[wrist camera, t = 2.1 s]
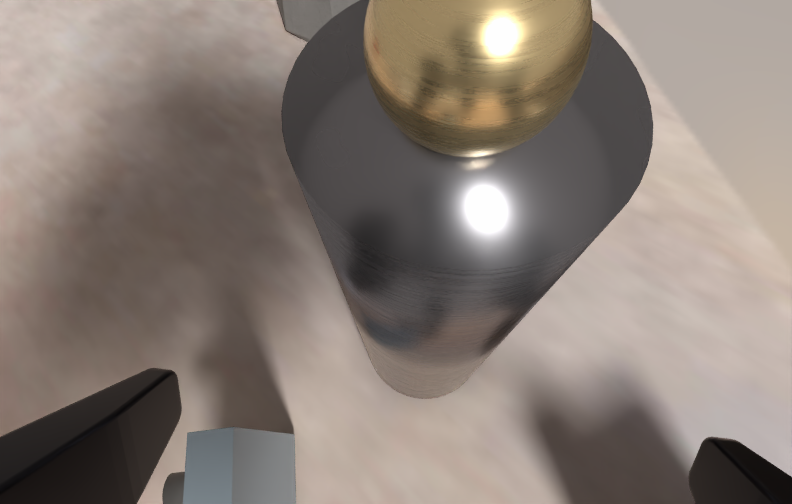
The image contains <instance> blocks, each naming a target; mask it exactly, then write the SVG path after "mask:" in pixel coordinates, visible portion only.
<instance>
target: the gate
mask: <svg viewBox="0 0 792 504" xmlns="http://www.w3.org/2000/svg"><path fill="white" fill-rule="evenodd" d="M163 504H296V481H295V439H294V434H287V433H279V432H271V431H263V430H255V429H246V428H238V427H229V428H221V429H213V430H205V431H197V432H189V433H187V448H186V463H185V472H178V473H171V474H170V475H169V476H168V477H167V479H166V481H165V484H164V488H163Z"/></svg>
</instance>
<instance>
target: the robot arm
mask: <svg viewBox="0 0 792 504" xmlns="http://www.w3.org/2000/svg"><path fill="white" fill-rule="evenodd" d="M181 409H182V408H181V399H180V392H179V385H178V378H177V375H176V373H175V372H174V371H172V370H166V369H158V368H150V369H147V370H145V371H143V372H141V373H139V374H136V375H134V376H132V377H130V378H128V379H126V380H123V381H121V382H119V383H117V384H115V385H112V386H110V387H108V388H106V389H104V390H102V391H99V392H97V393H95V394H93V395H91V396H88V397H86V398H84V399H82V400H80V401H78V402H75V403H73V404H71V405H69V406H67V407H64V408H62V409H60V410H58V411H56V412H54V413H51V414H49V415H47V416H45V417H43V418H40V419H38V420H36V421H34V422H32V423H30V424H27V425H25V426H23V427H21V428H19V429H16V430H14V431H12V432H10V433H8V434H6V435H3V436H1V437H0V504H137V502H138V500H139V499H140V497H141V495H142V493H143V491H144V489H145V487H146V485H147V483H148V481H149V479H150V477H151V475H152V473H153V471H154V469H155V467H156V465H157V463H158V461H159V459H160V457H161V455H162V453H163V452H164V450H165V448H166V446H167V444H168V442H169V440H170V438H171V436H172V434H173V432H174V430H175V428H176V426H177V424H178V422H179V419H180V416H181ZM689 486H690V490H691V493H692V496H693V499H694V502H695V504H792V477H791V476H789V475H788V474H786V473H785V472H783V471H782V470H780V469H779V468H777V467H776V466H774V465H773V464H771V463H770V462H768V461H767V460H765V459H764V458H762V457H761V456H759V455H758V454H756V453H755V452H753V451H752V450H750V449H749V448H747V447H746V446H744V445H743V444H741V443H740V442H738V441H736V440H733V439H726V438H718V437H708V438H706V439H705V440H704V441H703V442H702V444H701V446H700V449H699V451H698V453H697V456H696V458H695V460H694V463H693V465H692V467H691V470H690V473H689Z"/></svg>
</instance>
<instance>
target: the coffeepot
mask: <svg viewBox="0 0 792 504" xmlns="http://www.w3.org/2000/svg"><path fill="white" fill-rule="evenodd" d="M358 1H360V0H277V2H278V5H279V9H280V12H281V15H282V19H283V22H284V25H285V29H286V31H288V32H290V33H292V34H294V35H295V36H297V37H299V38H301V39H303V40H305V41H307V42H309V41H310V40H311V38H312V37H313V36H314V35H315V34H316V33H317V32H318V30H319V29H321V28H322V27H323V26H324V25H325V24H326V23H327V22H328V21H329V20H331V19H332V18H333V17H334V16H336V15H337V14H339V13H340V12H341V11H343V10H344V9H346V8H347V7H349V6H350V5H352V4H354V3H356V2H358Z"/></svg>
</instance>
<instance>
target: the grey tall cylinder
mask: <svg viewBox="0 0 792 504" xmlns="http://www.w3.org/2000/svg"><path fill="white" fill-rule="evenodd" d="M282 132H283V137H284V141H285V146H286V151H287V153H288V156H289V159H290V161H291V164H292V166H293V169H294V171H295V174H296V176H297V179H298V181H299V184H300V186H301V189H302V191H303V193H304V196H305V198H306V201H307V203H308V206H309V208H310V211H311V213H312V216H313V218H314V221H315V223H316V226H317V228H318V231H319V233H320V236H321V238H322V240H323V243H324V245H325V248H326V250H327V253H328V255H329V258H330V260H331V263H332V265H333V268H334V270H335V273H336V275H337V278H338V280H339V283H340V285H341V288H342V290H343V292H344V295H345V297H346V300H347V302H348V305H349V307H350V310H351V312H352V315H353V317H354V320H355V322H356V325H357V327H358V330H359V332H360V335H361V337H362V339H363V342H364V344H365V347H366V349H367V352H368V354H369V357H370V359H371V362H372V364H373V366H374V368H375V370H376V372H377V373H378V375H379V376H380V377H381V379H382V380H383V381H384V382H385V383H386V384H387V385H389V386H390V387H391V388H393V389H394V390H396V391H398V392H399V393H402V394H404V395H406V396H410V397H414V398H421V399H430V398H437V397H441V396H444V395H446V394H449V393H451V392H453V391H454V390H456V389H457V388H459V387H460V386H461V385H462V384H464V383H465V381H466V380H467V379H468V378H469V377H470V376H471V375H472V374H473V373H474V372H475V370H476V369H477V368H478V367H479V366H480V365H481V364H482V363H483V362H484V361H485V359H486V358H487V357H488V356H489V355H490V354H491V353H492V352H493V351H494V350H495V348H496V347H497V346H498V345H499V344H500V343H501V342H502V341H503V340H504V339H505V337H506V336H507V335H508V334H509V333H510V332H511V331H512V330H513V329H514V328H515V326H516V325H517V324H518V323H519V322H520V321H521V320H522V319H523V318H524V317H525V315H526V314H527V313H528V312H529V311H530V310H531V309H532V308H533V307H534V306H535V304H536V303H537V302H538V301H539V300H540V299H541V298H542V297H543V296H544V295H545V293H546V292H547V291H548V290H549V289H550V288H551V287H552V286H553V285H554V284H555V282H556V281H557V280H558V279H559V278H560V277H561V276H562V275H563V274H564V273H565V271H566V270H567V269H568V268H569V267H570V266H571V265H572V264H573V263H574V261H575V260H576V259H577V258H578V257H579V256H580V255H581V254H582V253H583V252H584V250H585V249H586V248H587V247H588V246H589V245H590V244H591V243H592V242H593V241H594V239H595V238H596V237H597V236H598V235H599V234H600V233H601V232H602V231H603V230H604V228H605V227H606V226H607V225H608V224H609V223H610V222H611V221H612V220H613V219H614V217H615V216H616V215H617V214H618V213H619V212H620V211H621V210H622V208H623V207H624V206H625V205H626V204H627V203H628V202H629V200H630V198H631V197H632V195H633V194H634V192H635V191H636V189H637V187H638V186H639V184H640V182H641V180H642V177H643V175H644V172H645V170H646V168H647V165H648V161H649V157H650V152H651V148H652V139H653V120H652V112H651V105H650V101H649V98H648V95H647V91H646V88H645V85H644V83H643V81H642V79H641V77H640V75H639V73H638V71H637V68H636V67H635V65H634V64H633V62H632V61H631V59H630V58H629V56H628V55H627V53H626V52H625V51H624V50H623V48H622V47H621V46H620V45H619V44H618V43H617V41H616V40H615V39H614V38H613V37H612V36H611V35H610V34H609V33H608V32H607V31H605V30H604V29H603V28H602V27H601V26H600V25H599V24H598V23H596V22H595V21H594V20H593V16H592V6H591V0H360V1H358V2H356V3H354V4H352V5H350V6H349V7H347V8H346V9H344V10H343V11H341V12H340V13H339V14H337V15H336V16H334V17H333V18H332V19H331V20H329V21H328V22H327V23H326V24H325V25H324V26H323V27H322V28H321V29H319V30H318V32H317V33H316V34H315V35H314V36H313V37H312V38H311V40H310V41H309V42H308V43H307V44H306V46H305V47H304V49H303V50H302V52H301V53H300V55H299V56H298V58H297V60H296V62H295V64H294V66H293V68H292V70H291V73H290V75H289V77H288V81H287V84H286V88H285V91H284V96H283V104H282Z"/></svg>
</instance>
